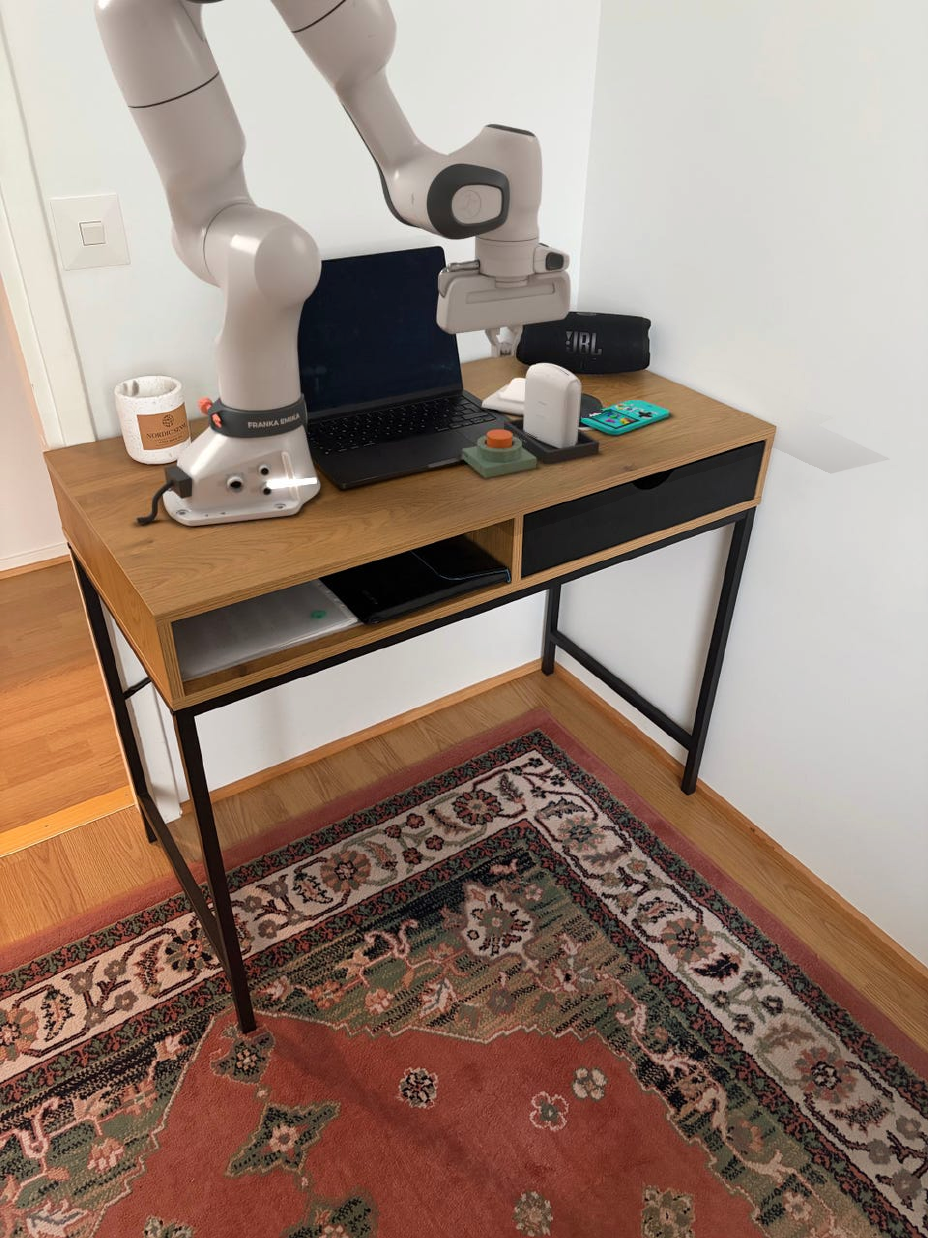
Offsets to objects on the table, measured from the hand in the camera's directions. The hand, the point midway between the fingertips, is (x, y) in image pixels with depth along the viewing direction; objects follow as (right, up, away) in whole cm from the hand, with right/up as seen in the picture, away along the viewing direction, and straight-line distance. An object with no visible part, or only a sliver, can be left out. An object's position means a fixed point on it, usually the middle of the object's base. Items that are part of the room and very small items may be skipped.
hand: (502, 355), depth 133 cm
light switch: (+5, 0, +31) cm, 32 cm away
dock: (+9, -10, +16) cm, 21 cm away
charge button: (0, -12, +8) cm, 14 cm away
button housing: (0, -14, +10) cm, 17 cm away
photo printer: (+8, -9, +16) cm, 21 cm away
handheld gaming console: (+23, -4, +26) cm, 34 cm away
